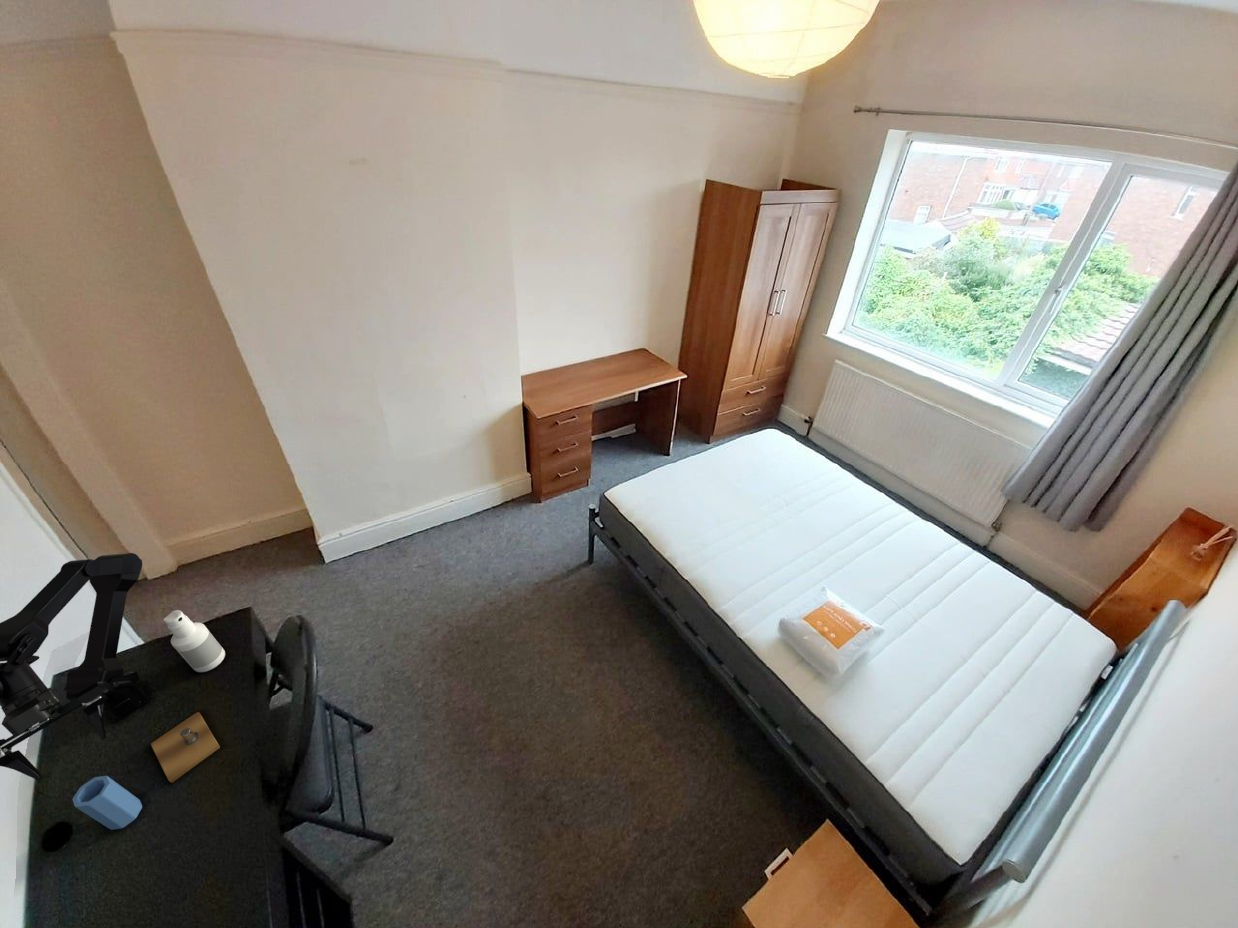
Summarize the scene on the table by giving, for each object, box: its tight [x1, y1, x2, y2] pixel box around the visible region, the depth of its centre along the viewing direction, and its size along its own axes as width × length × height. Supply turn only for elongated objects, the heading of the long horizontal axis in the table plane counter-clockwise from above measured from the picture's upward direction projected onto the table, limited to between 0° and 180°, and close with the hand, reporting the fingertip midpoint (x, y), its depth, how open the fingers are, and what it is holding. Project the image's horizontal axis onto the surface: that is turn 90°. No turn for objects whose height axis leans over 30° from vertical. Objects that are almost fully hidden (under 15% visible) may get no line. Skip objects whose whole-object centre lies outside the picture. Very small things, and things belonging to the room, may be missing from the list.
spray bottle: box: [163, 609, 226, 673], centre depth 121 cm, size 7×7×18 cm
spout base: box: [150, 711, 221, 784], centre depth 107 cm, size 12×9×4 cm
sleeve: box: [72, 775, 143, 831], centre depth 95 cm, size 5×5×11 cm
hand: (73, 758), depth 94 cm, fingers open, 9 cm apart
